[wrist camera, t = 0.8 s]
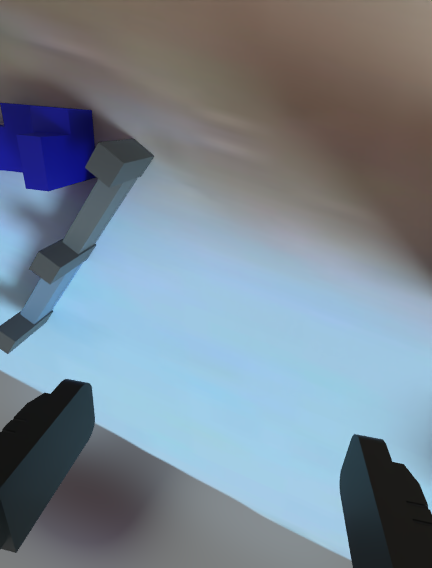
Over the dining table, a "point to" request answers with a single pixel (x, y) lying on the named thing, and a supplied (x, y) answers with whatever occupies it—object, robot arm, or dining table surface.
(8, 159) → the blue curved block
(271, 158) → the dining table surface
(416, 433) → the dining table surface
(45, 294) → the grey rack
